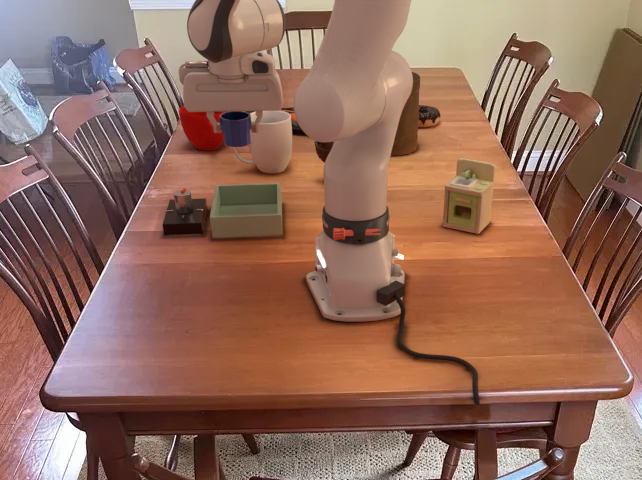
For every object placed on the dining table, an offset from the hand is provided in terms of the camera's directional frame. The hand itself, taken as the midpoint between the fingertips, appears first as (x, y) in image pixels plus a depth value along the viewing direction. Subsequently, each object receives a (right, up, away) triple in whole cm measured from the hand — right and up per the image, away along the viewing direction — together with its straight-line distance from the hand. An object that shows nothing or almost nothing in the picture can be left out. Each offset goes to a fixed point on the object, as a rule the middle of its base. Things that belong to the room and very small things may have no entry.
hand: (236, 132), depth 147 cm
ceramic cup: (-14, +12, +44) cm, 48 cm away
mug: (+3, +2, +32) cm, 32 cm away
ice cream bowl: (+21, -3, +25) cm, 33 cm away
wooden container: (+35, +13, +45) cm, 58 cm away
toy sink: (+49, -18, +6) cm, 52 cm away
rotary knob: (-12, -15, +4) cm, 20 cm away
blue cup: (0, -2, +1) cm, 2 cm away
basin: (+2, -17, +7) cm, 18 cm away
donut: (+45, +26, +61) cm, 80 cm away
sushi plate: (+7, +29, +65) cm, 71 cm away
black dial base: (-12, -18, +6) cm, 22 cm away
